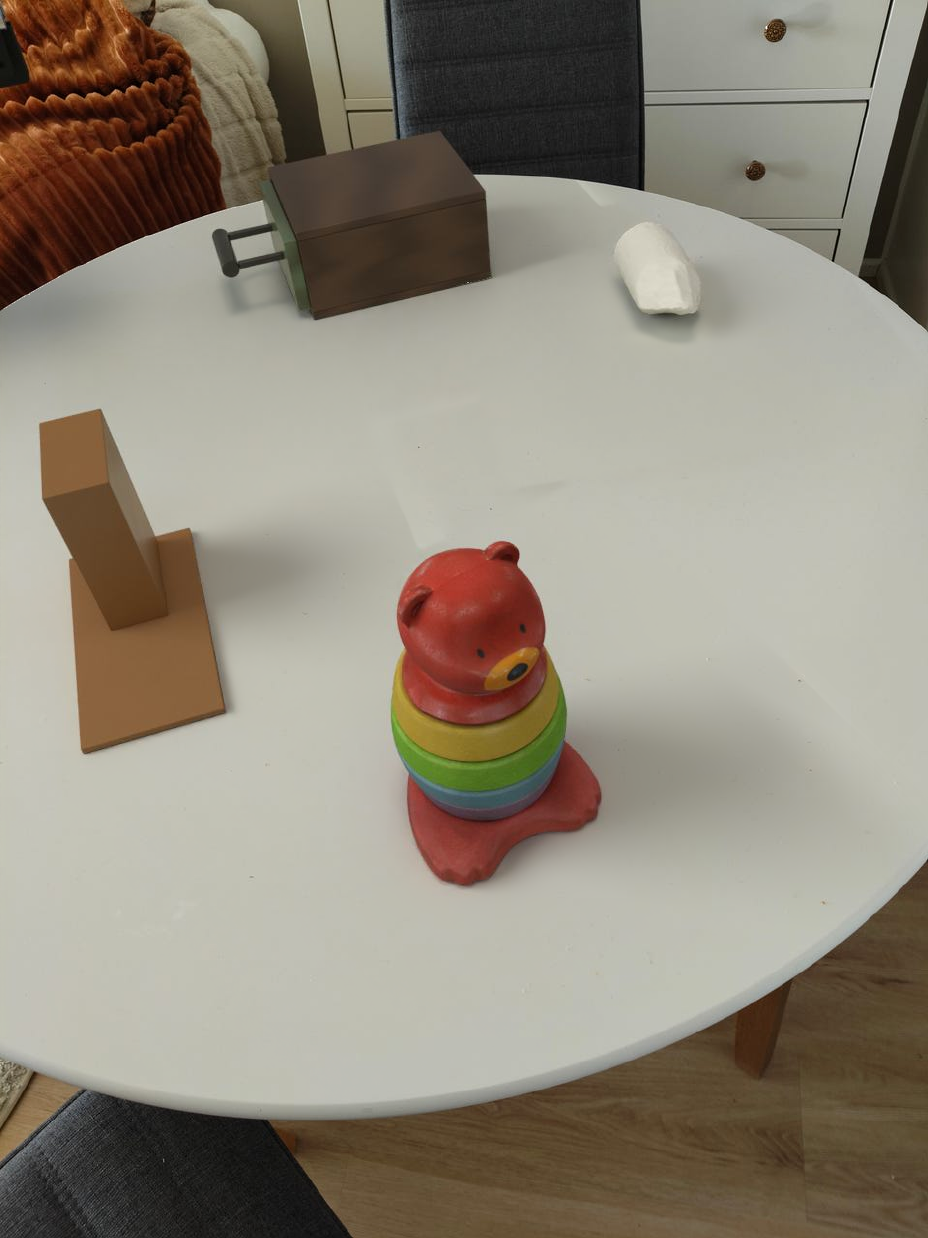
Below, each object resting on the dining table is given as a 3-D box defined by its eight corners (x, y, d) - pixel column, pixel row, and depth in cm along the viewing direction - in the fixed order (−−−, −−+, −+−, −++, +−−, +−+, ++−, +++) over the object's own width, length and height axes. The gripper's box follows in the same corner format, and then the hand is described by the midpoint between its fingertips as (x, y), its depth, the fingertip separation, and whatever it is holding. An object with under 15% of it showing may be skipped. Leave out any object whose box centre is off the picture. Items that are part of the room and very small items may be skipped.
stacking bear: (447, 901, 53) (406, 700, 40) (369, 765, 59) (312, 552, 46) (616, 811, 56) (630, 595, 43) (525, 690, 62) (513, 469, 49)
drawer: (238, 325, 92) (218, 257, 87) (217, 259, 101) (199, 193, 96) (466, 271, 95) (460, 202, 90) (427, 212, 104) (420, 146, 99)
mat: (71, 563, 73) (68, 559, 73) (191, 531, 75) (189, 527, 74) (83, 754, 62) (80, 749, 61) (226, 712, 63) (224, 707, 63)
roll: (645, 350, 86) (650, 291, 82) (611, 280, 94) (613, 223, 90) (713, 340, 86) (721, 280, 82) (673, 271, 94) (678, 214, 90)
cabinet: (314, 320, 93) (295, 232, 87) (285, 250, 103) (267, 166, 96) (491, 277, 96) (486, 190, 90) (447, 213, 105) (439, 130, 99)
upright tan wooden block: (103, 555, 73) (38, 422, 64) (157, 540, 74) (100, 407, 65) (110, 631, 68) (41, 498, 59) (169, 615, 68) (109, 481, 59)
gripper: (-52, -206, 61) (61, 106, 75) (-44, -238, 71) (55, 44, 84) (-179, -187, 60) (-41, 127, 74) (-153, -222, 70) (-35, 61, 83)
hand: (10, 82), depth 79 cm, fingers closed
